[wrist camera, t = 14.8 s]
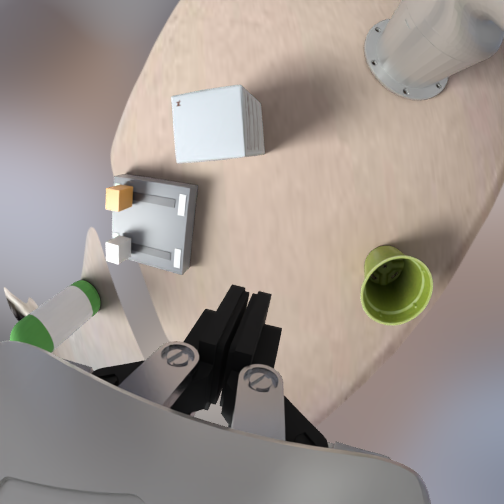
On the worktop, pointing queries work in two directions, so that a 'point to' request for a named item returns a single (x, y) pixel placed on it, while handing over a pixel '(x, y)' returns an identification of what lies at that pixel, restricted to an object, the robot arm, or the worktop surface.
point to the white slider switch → (118, 249)
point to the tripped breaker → (119, 197)
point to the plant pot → (395, 286)
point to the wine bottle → (58, 317)
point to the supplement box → (217, 125)
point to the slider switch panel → (158, 221)
